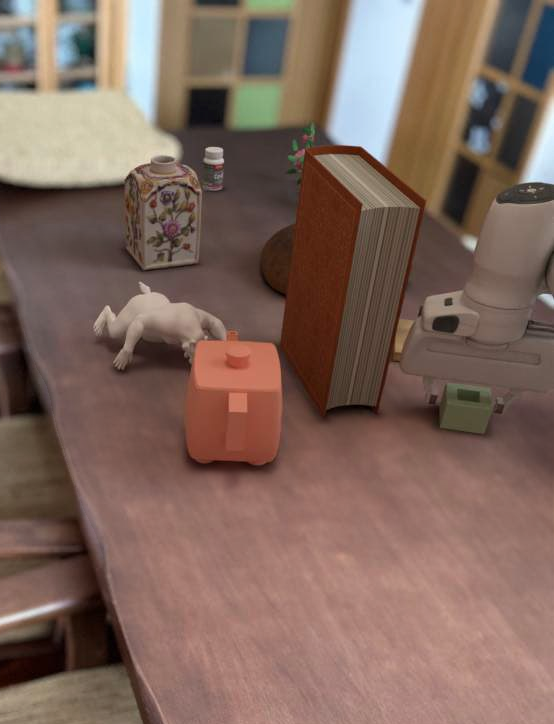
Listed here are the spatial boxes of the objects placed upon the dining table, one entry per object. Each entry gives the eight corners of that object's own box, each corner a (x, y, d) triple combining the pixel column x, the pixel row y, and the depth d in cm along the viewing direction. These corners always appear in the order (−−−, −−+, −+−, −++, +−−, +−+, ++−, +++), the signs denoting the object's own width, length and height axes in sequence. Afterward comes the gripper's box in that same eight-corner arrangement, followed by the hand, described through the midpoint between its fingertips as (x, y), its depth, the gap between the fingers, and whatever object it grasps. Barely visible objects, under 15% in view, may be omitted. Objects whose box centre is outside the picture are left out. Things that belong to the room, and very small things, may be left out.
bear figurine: (84, 378, 132) (173, 388, 118) (71, 291, 127) (163, 292, 113) (158, 355, 142) (248, 362, 129) (149, 274, 137) (242, 273, 123)
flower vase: (320, 263, 177) (274, 175, 197) (375, 244, 176) (324, 157, 196) (315, 216, 167) (268, 129, 187) (374, 196, 166) (320, 110, 186)
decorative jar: (179, 242, 165) (183, 146, 154) (200, 264, 157) (205, 165, 145) (122, 248, 163) (121, 152, 151) (141, 272, 154) (141, 171, 142)
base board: (468, 335, 137) (482, 286, 131) (471, 370, 128) (486, 319, 122) (394, 326, 139) (405, 278, 133) (392, 360, 130) (404, 310, 124)
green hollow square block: (482, 411, 119) (489, 387, 116) (484, 434, 114) (492, 409, 112) (439, 405, 120) (446, 381, 117) (439, 427, 116) (446, 403, 113)
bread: (337, 236, 168) (345, 193, 163) (440, 284, 151) (452, 237, 146) (227, 266, 157) (230, 220, 151) (324, 322, 140) (333, 272, 134)
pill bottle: (215, 192, 188) (218, 153, 182) (198, 188, 190) (200, 150, 184) (226, 187, 191) (228, 148, 185) (208, 183, 193) (210, 145, 187)
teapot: (185, 397, 121) (189, 306, 112) (271, 400, 121) (283, 310, 111) (181, 487, 104) (185, 390, 95) (281, 492, 104) (295, 395, 95)
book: (377, 414, 118) (426, 200, 98) (322, 419, 117) (361, 203, 97) (325, 339, 135) (358, 144, 115) (277, 343, 134) (302, 146, 114)
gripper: (574, 315, 107) (539, 406, 116) (413, 296, 111) (392, 385, 120) (580, 337, 103) (543, 430, 112) (412, 316, 106) (390, 408, 115)
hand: (464, 406), depth 116 cm, fingers open, 8 cm apart
